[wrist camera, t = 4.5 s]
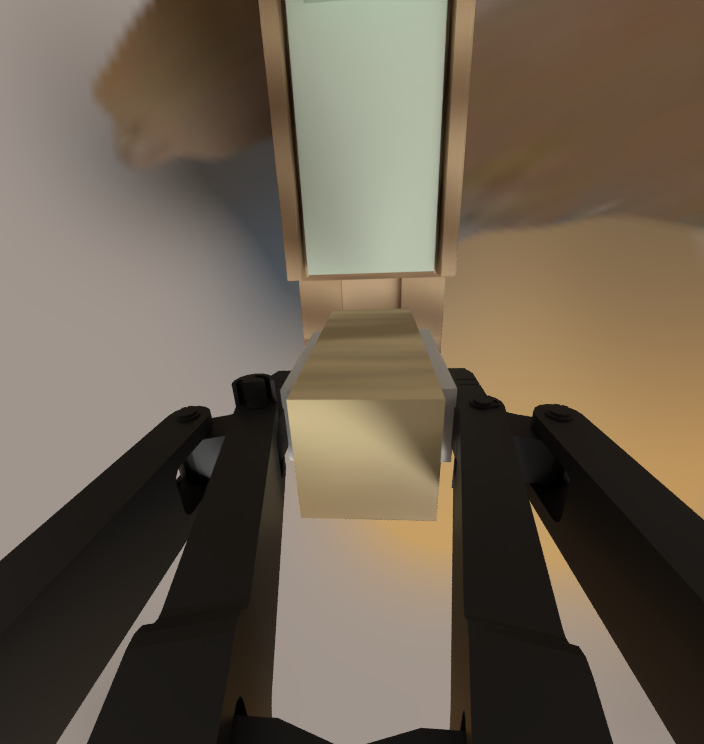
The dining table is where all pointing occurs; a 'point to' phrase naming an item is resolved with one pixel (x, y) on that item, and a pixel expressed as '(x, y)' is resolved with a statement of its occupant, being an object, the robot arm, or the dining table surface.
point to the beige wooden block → (368, 420)
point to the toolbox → (428, 286)
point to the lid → (368, 130)
